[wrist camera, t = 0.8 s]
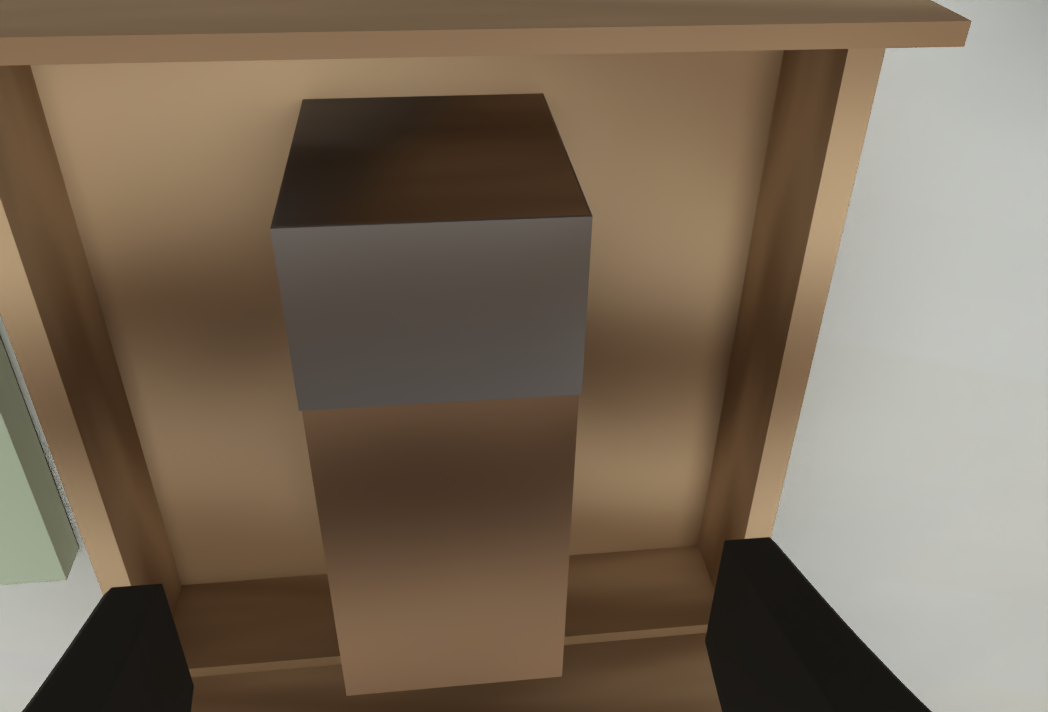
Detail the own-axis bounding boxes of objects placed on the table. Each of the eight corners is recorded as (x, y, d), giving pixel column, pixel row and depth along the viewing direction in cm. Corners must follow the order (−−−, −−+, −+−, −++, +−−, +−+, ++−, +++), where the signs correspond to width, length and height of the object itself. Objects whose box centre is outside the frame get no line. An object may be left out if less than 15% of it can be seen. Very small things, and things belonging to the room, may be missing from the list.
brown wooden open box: (712, 545, 24) (791, 751, 20) (165, 587, 23) (102, 821, 18) (826, -71, 16) (1018, 20, 11) (-35, -66, 14) (-258, 41, 10)
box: (532, 500, 22) (564, 678, 18) (354, 513, 22) (345, 698, 18) (543, 93, 16) (592, 216, 12) (302, 98, 16) (269, 229, 12)
